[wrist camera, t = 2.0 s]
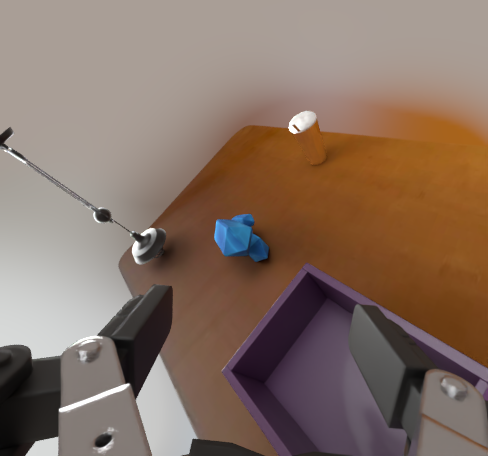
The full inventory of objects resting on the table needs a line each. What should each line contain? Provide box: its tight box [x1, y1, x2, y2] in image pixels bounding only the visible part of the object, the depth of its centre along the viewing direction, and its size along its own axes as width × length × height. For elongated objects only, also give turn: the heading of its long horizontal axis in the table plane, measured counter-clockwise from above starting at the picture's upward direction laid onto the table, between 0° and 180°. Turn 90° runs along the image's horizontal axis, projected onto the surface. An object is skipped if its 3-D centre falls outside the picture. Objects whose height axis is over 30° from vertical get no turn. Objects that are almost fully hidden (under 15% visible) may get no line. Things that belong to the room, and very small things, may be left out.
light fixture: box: [0, 127, 166, 264], centre depth 46 cm, size 10×8×31 cm
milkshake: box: [289, 111, 327, 165], centre depth 44 cm, size 4×5×10 cm
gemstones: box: [214, 214, 269, 262], centre depth 40 cm, size 7×9×12 cm
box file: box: [222, 263, 488, 456], centre depth 23 cm, size 16×14×8 cm
